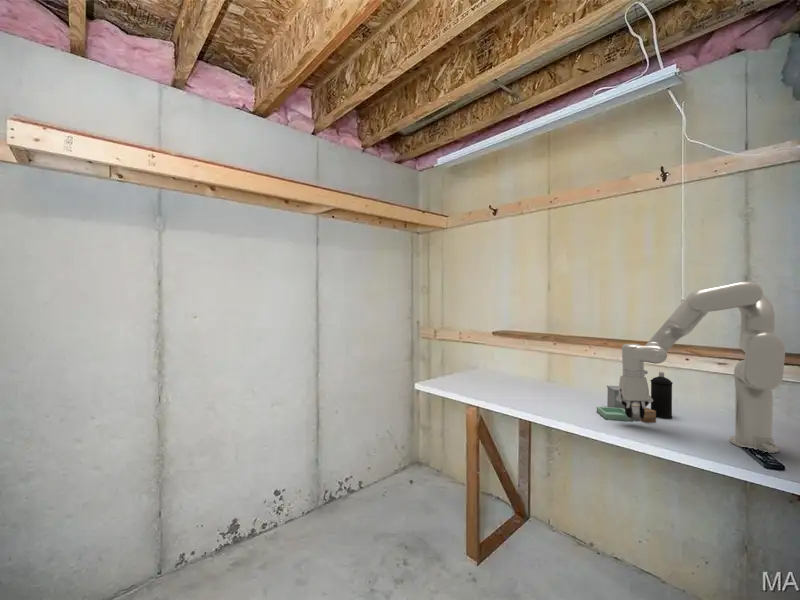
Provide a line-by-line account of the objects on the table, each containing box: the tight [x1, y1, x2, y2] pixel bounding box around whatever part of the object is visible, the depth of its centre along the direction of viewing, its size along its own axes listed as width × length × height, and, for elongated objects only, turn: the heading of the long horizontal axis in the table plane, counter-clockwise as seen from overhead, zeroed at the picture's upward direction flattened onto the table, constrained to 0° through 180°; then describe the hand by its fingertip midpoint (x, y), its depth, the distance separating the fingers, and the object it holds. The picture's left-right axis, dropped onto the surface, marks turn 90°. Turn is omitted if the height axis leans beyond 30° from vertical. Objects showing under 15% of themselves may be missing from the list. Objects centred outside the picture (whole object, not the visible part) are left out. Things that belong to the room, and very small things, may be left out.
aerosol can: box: [650, 371, 674, 420], centre depth 159 cm, size 8×8×20 cm
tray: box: [596, 406, 635, 422], centre depth 158 cm, size 11×11×2 cm
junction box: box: [606, 385, 625, 410], centre depth 167 cm, size 9×14×11 cm, turn 80°
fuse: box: [629, 401, 642, 422], centre depth 146 cm, size 4×4×9 cm
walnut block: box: [640, 407, 657, 424], centre depth 153 cm, size 5×5×5 cm
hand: (634, 416), depth 146 cm, fingers closed on fuse, 4 cm apart
